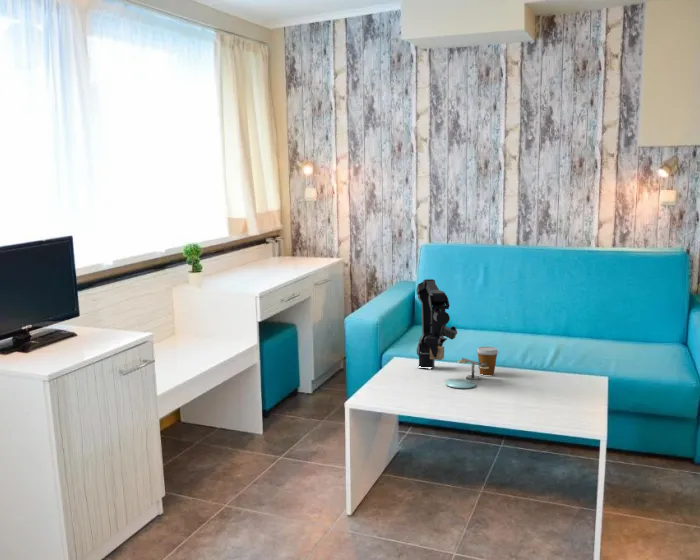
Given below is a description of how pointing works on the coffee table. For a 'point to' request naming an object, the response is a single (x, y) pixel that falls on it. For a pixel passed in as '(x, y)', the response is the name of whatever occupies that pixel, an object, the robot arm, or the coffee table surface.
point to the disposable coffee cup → (487, 359)
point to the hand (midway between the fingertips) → (436, 355)
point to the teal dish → (460, 383)
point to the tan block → (438, 353)
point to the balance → (472, 376)
